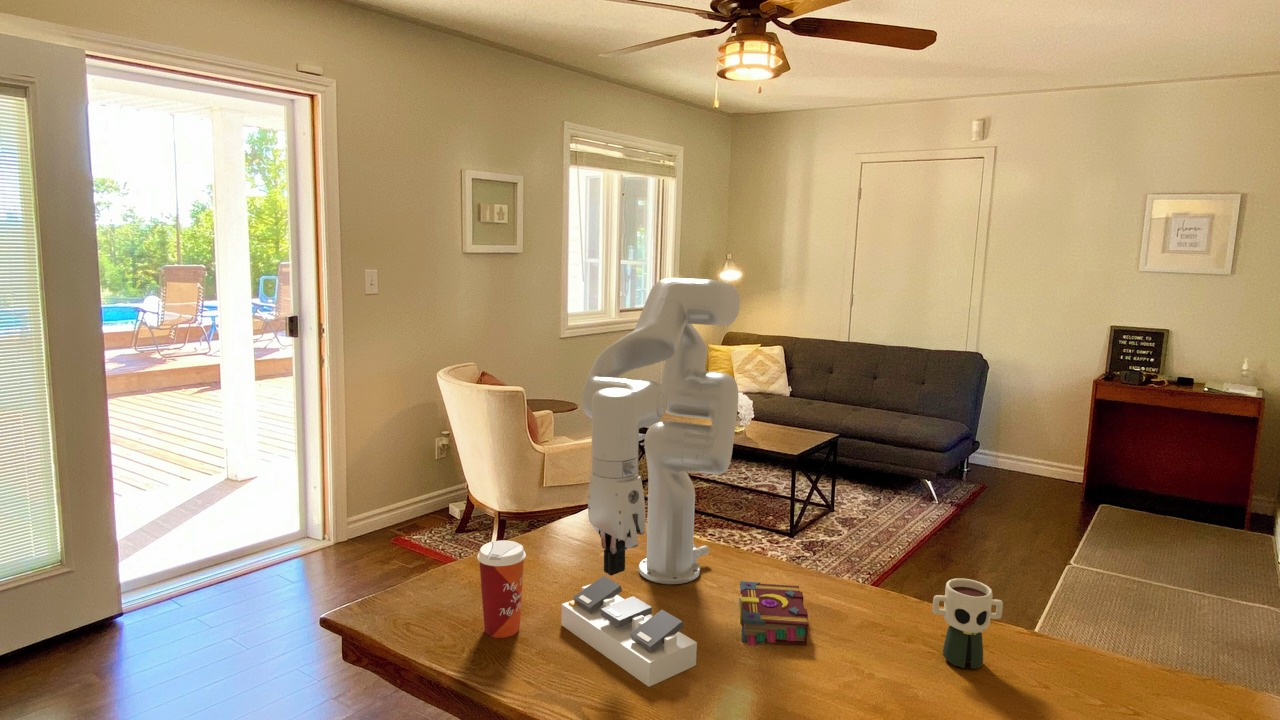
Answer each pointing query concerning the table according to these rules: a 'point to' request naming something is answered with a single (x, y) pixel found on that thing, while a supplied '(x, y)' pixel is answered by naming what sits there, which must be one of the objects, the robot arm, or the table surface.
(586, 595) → the rocker
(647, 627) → the rocker
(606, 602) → the strip
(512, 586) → the coffee cup
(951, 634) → the character mug
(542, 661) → the table surface
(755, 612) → the decorative book
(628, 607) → the rocker mid
